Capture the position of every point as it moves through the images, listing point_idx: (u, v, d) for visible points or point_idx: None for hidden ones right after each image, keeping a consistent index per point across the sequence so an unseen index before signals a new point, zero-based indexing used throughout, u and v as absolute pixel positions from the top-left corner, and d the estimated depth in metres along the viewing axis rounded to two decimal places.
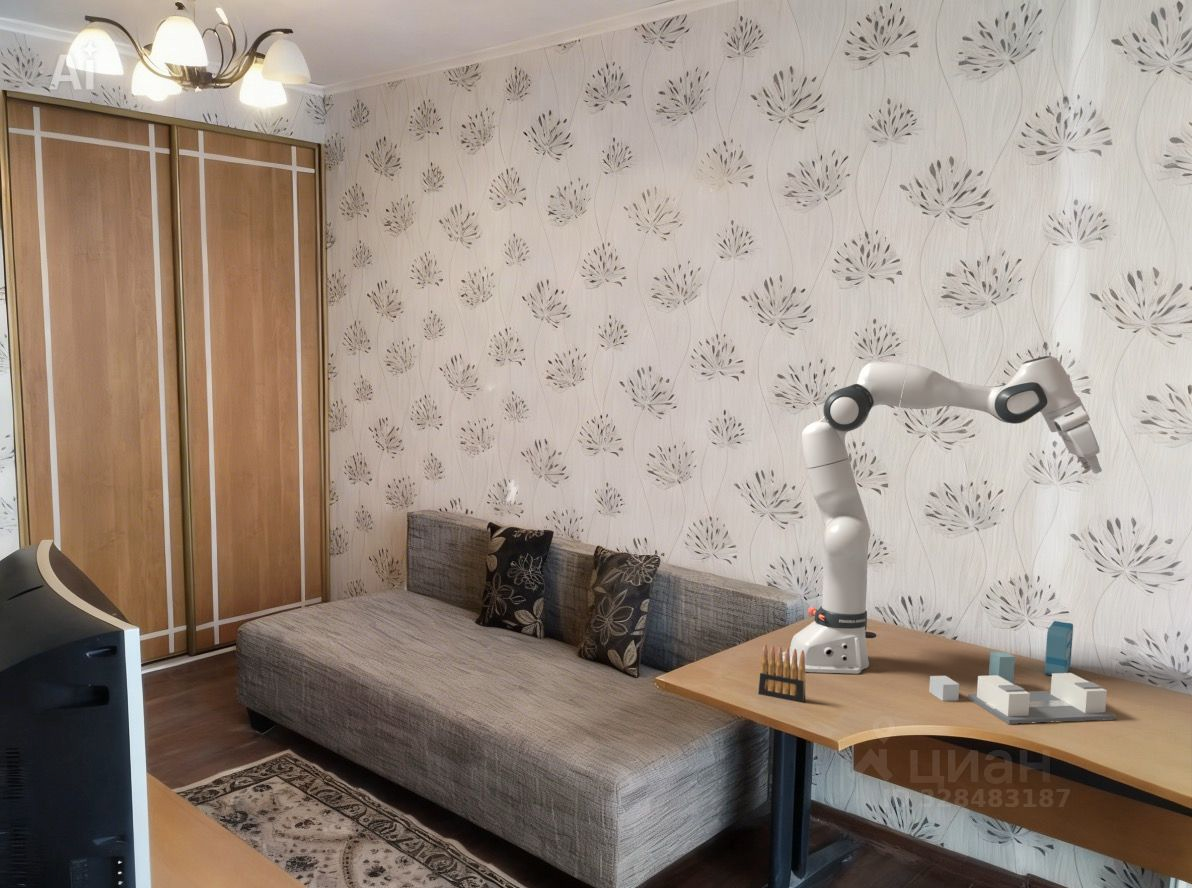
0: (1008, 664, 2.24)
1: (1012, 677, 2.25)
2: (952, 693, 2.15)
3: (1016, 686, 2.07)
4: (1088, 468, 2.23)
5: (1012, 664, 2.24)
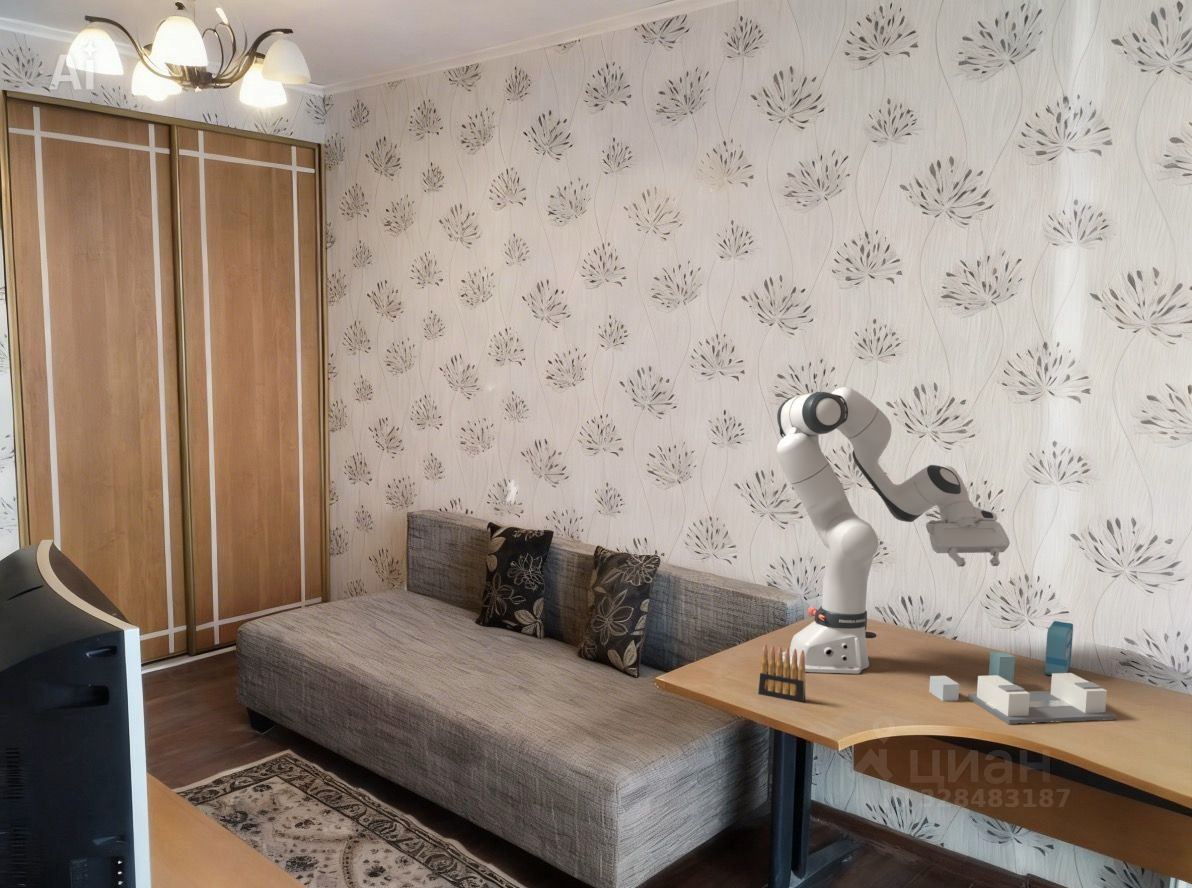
0: (1009, 664, 2.24)
1: (1012, 677, 2.25)
2: (952, 693, 2.15)
3: (1016, 686, 2.07)
4: None
5: (1012, 664, 2.24)
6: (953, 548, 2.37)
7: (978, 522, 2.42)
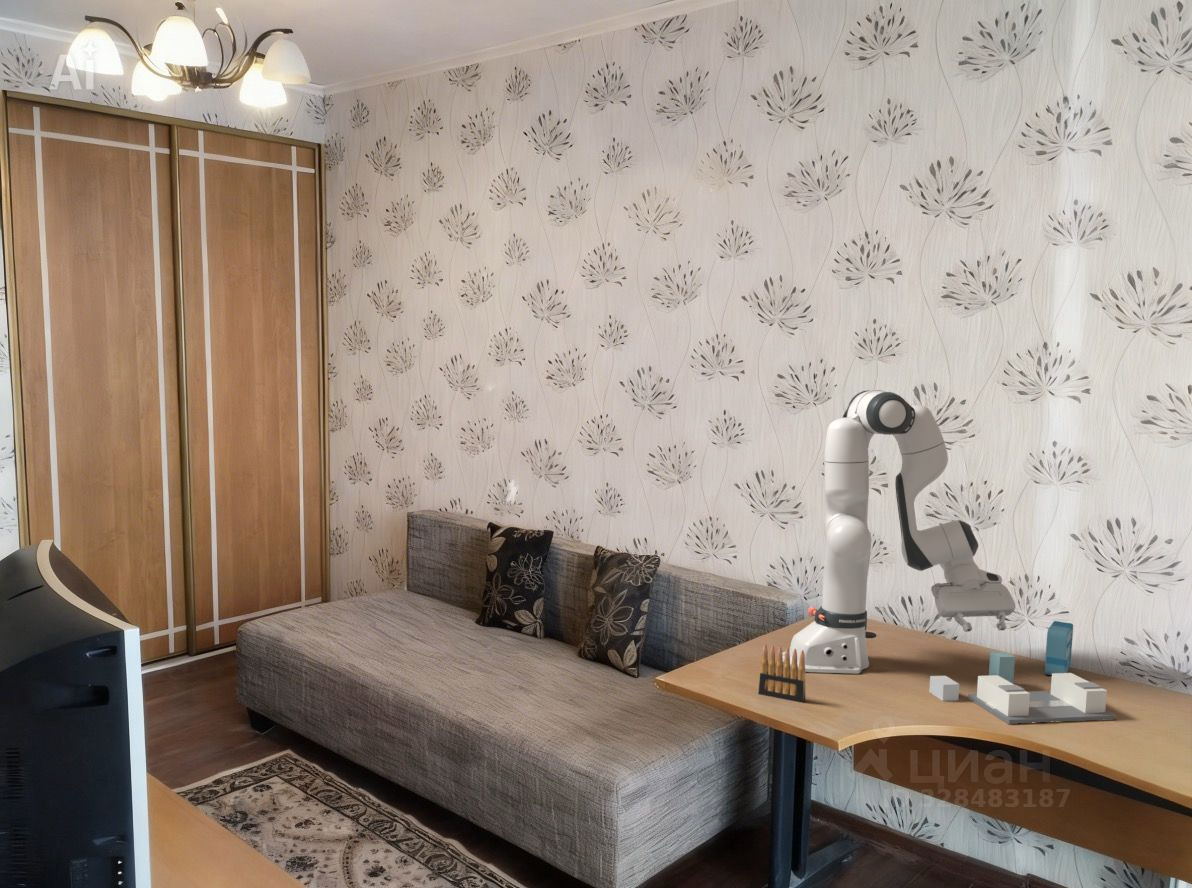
0: (1009, 664, 2.24)
1: (1012, 677, 2.25)
2: (952, 693, 2.15)
3: (1016, 686, 2.07)
4: None
5: (1012, 664, 2.24)
6: (959, 613, 2.34)
7: (983, 585, 2.40)
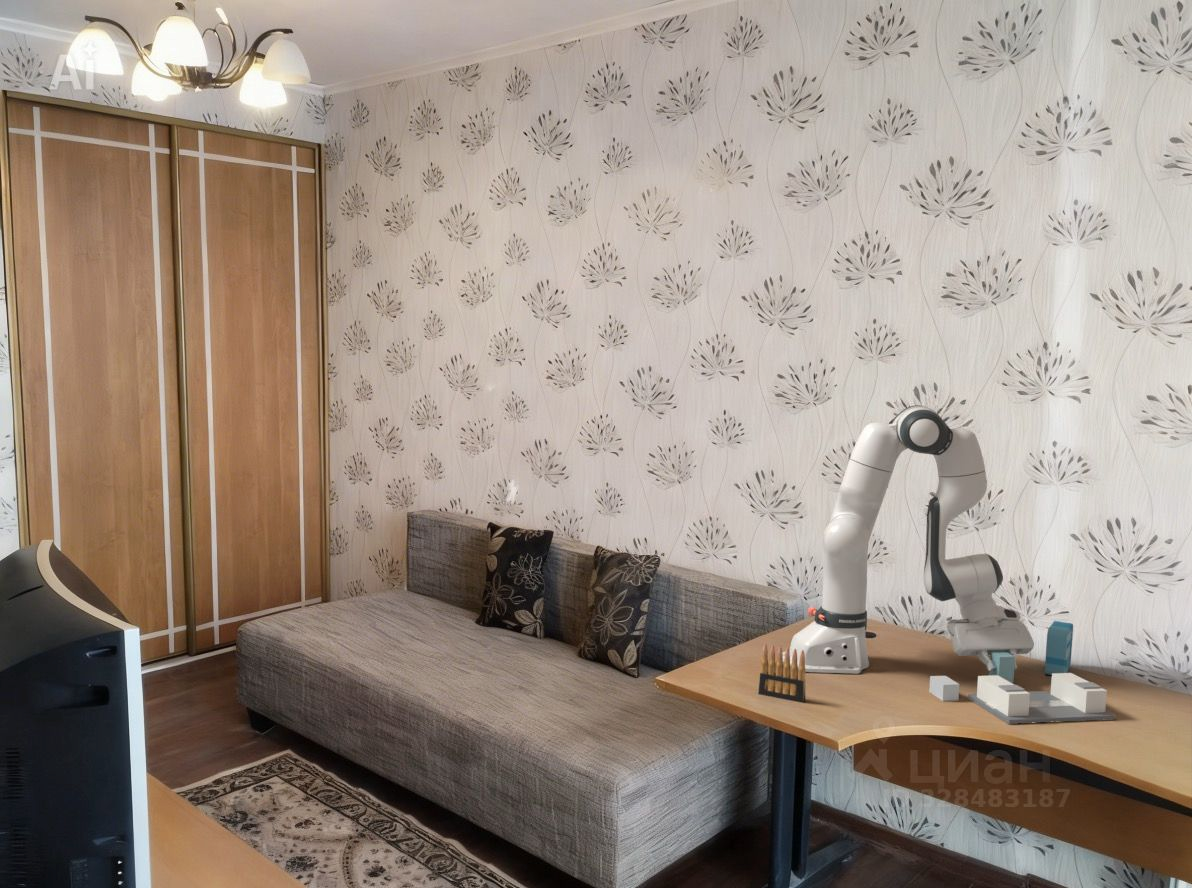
0: (1009, 664, 2.24)
1: (1012, 677, 2.24)
2: (952, 693, 2.15)
3: (1016, 686, 2.07)
4: None
5: (1012, 664, 2.24)
6: (983, 651, 2.27)
7: (1001, 622, 2.32)
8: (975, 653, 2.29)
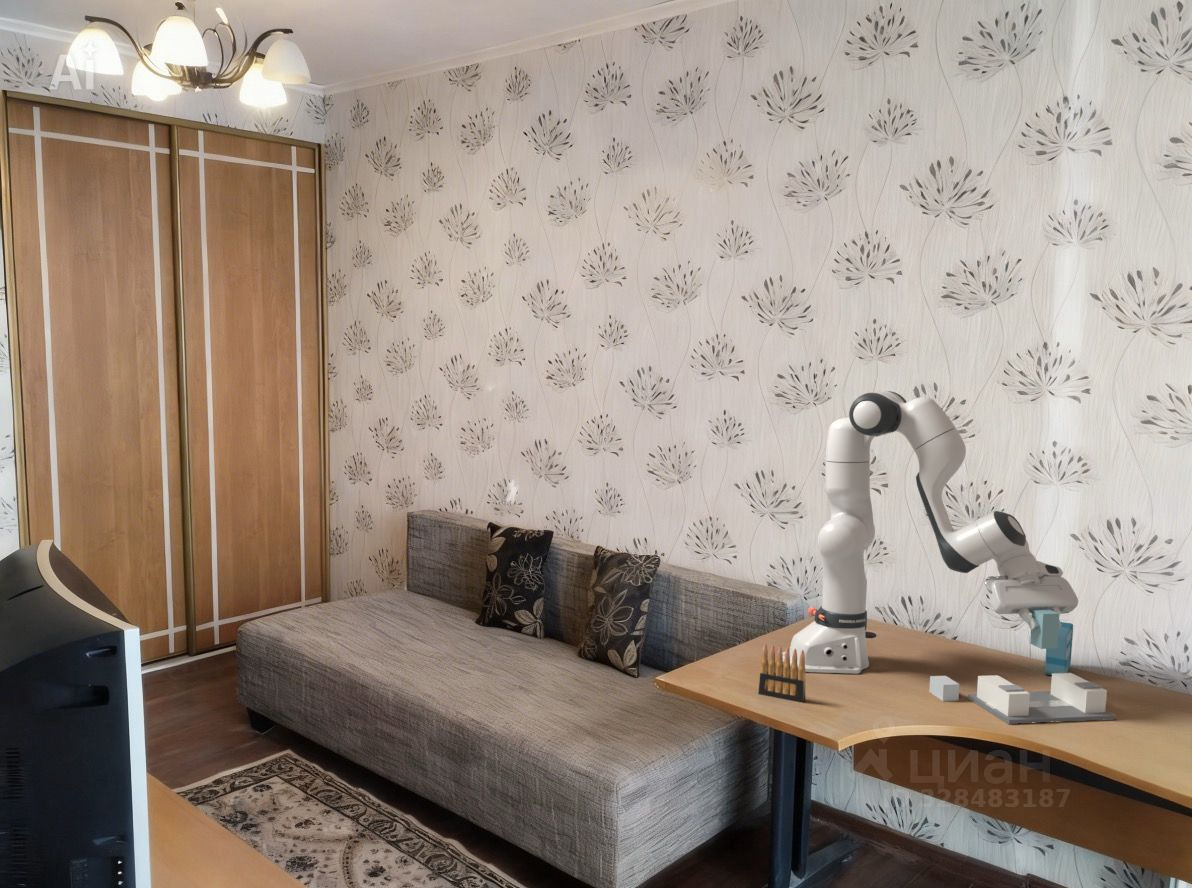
0: (1052, 622, 2.09)
1: (1056, 636, 2.09)
2: (952, 693, 2.15)
3: (1016, 686, 2.07)
4: None
5: (1056, 622, 2.09)
6: (1025, 608, 2.11)
7: (1042, 578, 2.16)
8: (1015, 611, 2.13)
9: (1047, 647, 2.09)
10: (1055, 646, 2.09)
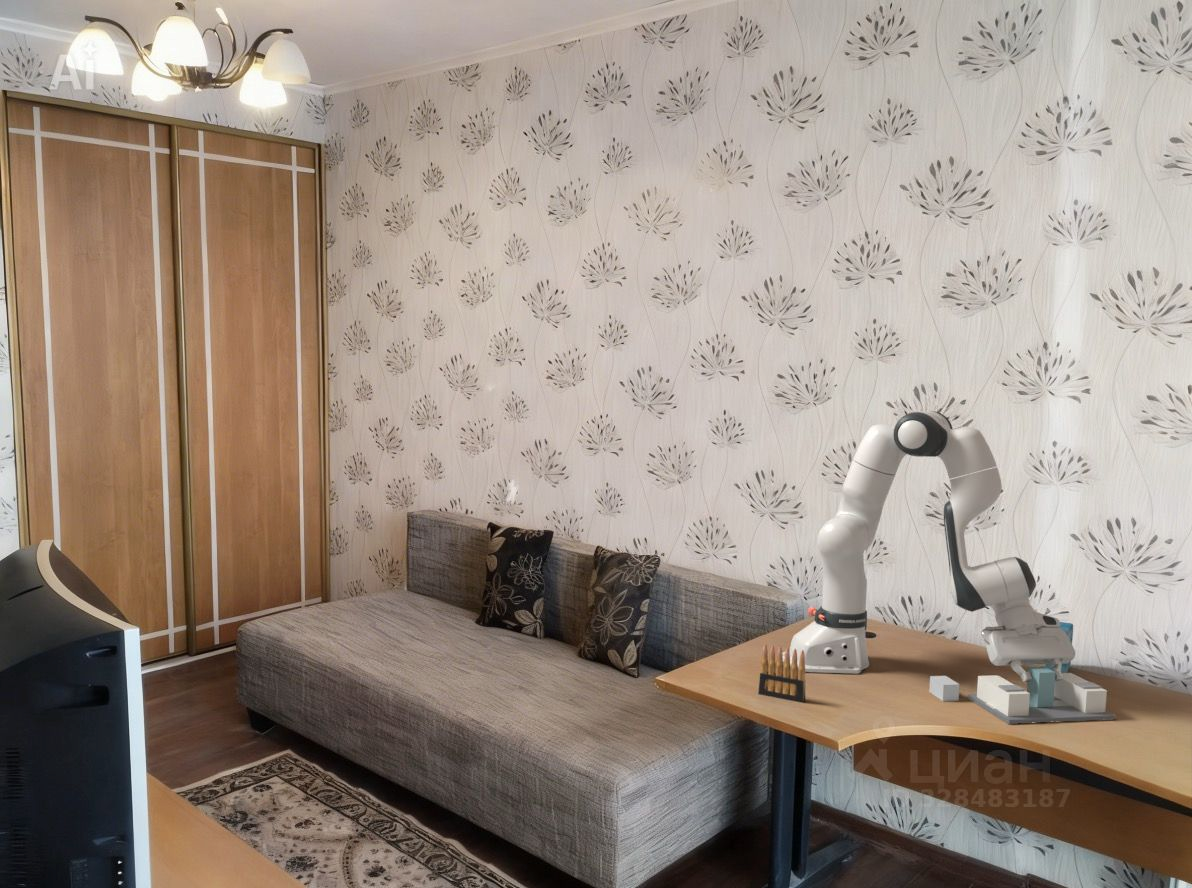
0: (1049, 680, 2.09)
1: (1052, 694, 2.10)
2: (952, 693, 2.15)
3: (1016, 686, 2.07)
4: None
5: (1052, 680, 2.09)
6: (1017, 661, 2.12)
7: (1040, 629, 2.17)
8: None
9: (1043, 705, 2.10)
10: (1051, 704, 2.10)
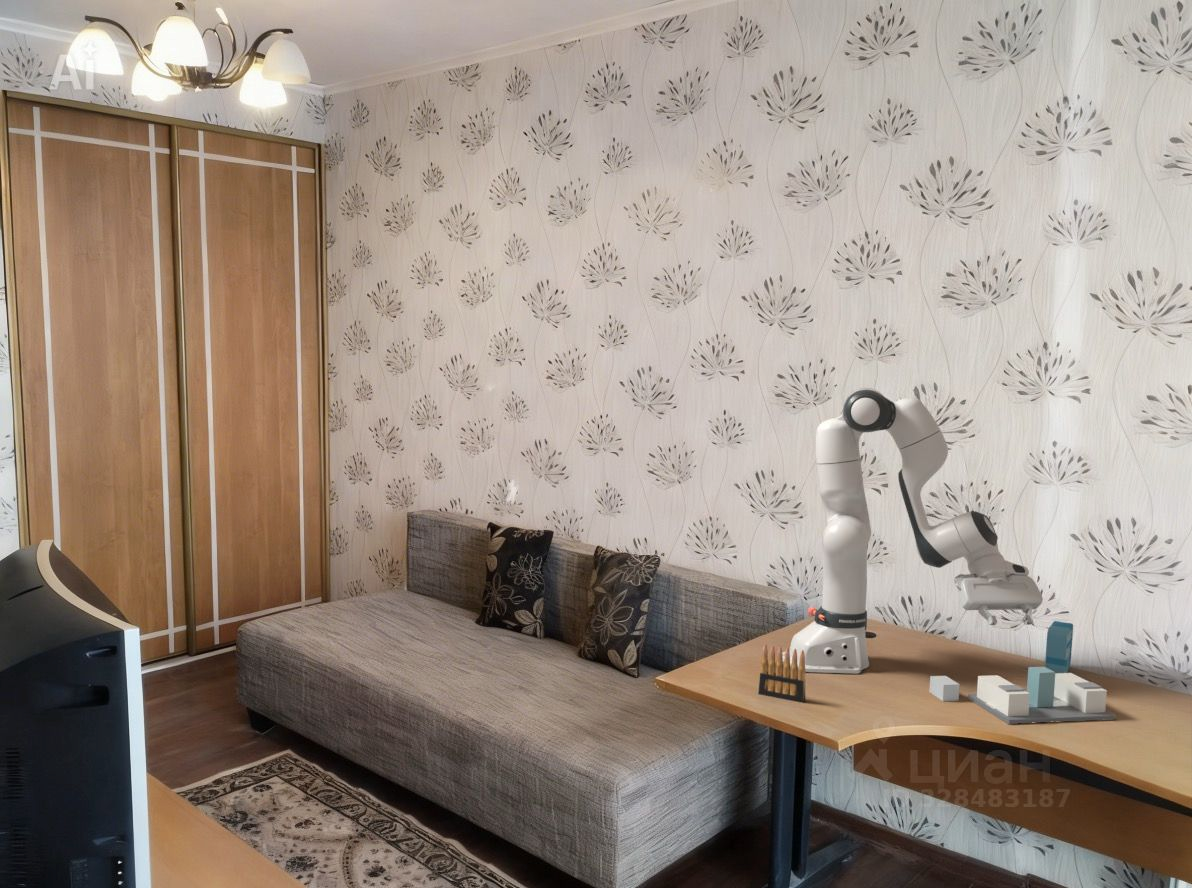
0: (1049, 680, 2.09)
1: (1052, 694, 2.10)
2: (952, 693, 2.15)
3: (1016, 686, 2.07)
4: None
5: (1052, 680, 2.09)
6: (984, 605, 2.23)
7: (1009, 577, 2.28)
8: None
9: (1043, 705, 2.10)
10: (1051, 704, 2.10)
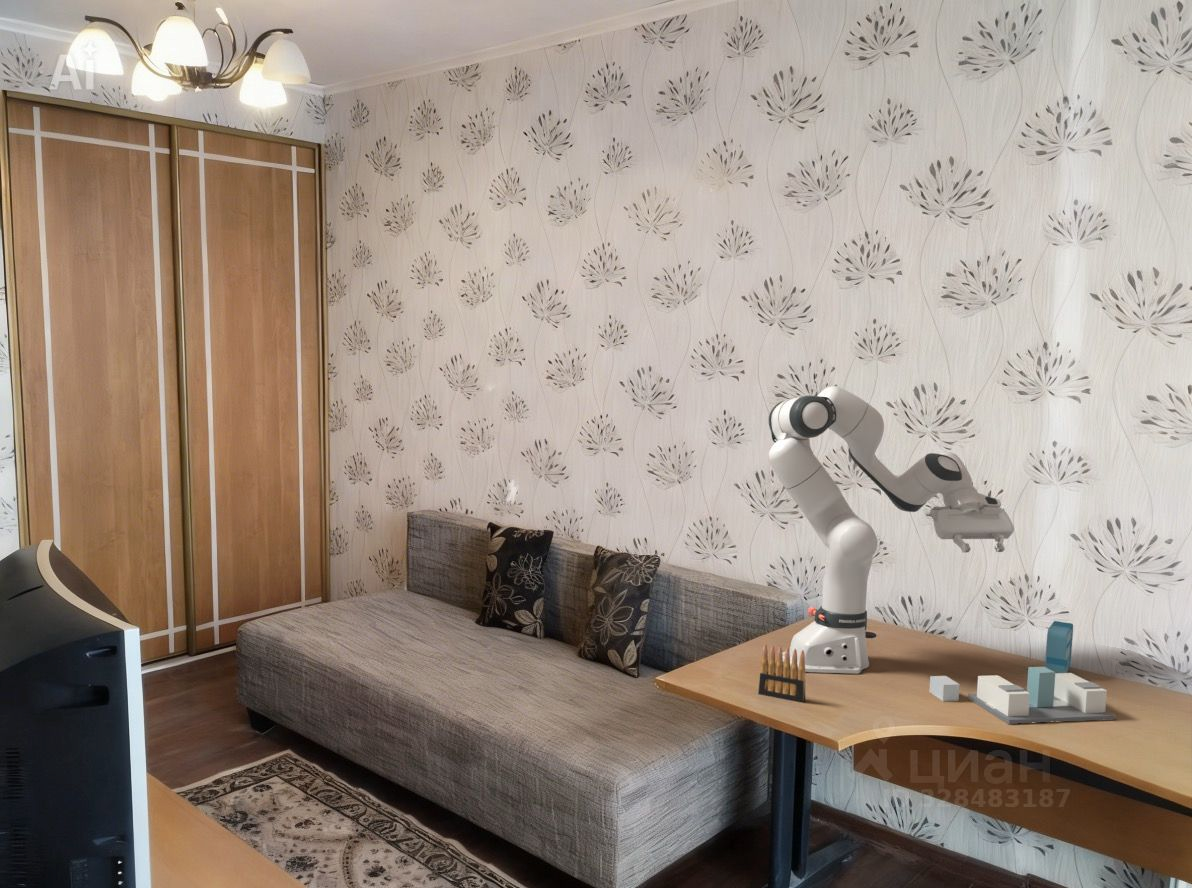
0: (1049, 680, 2.09)
1: (1052, 694, 2.10)
2: (952, 693, 2.15)
3: (1016, 686, 2.07)
4: None
5: (1052, 680, 2.09)
6: (958, 534, 2.35)
7: (982, 508, 2.40)
8: None
9: (1043, 705, 2.10)
10: (1051, 704, 2.10)
